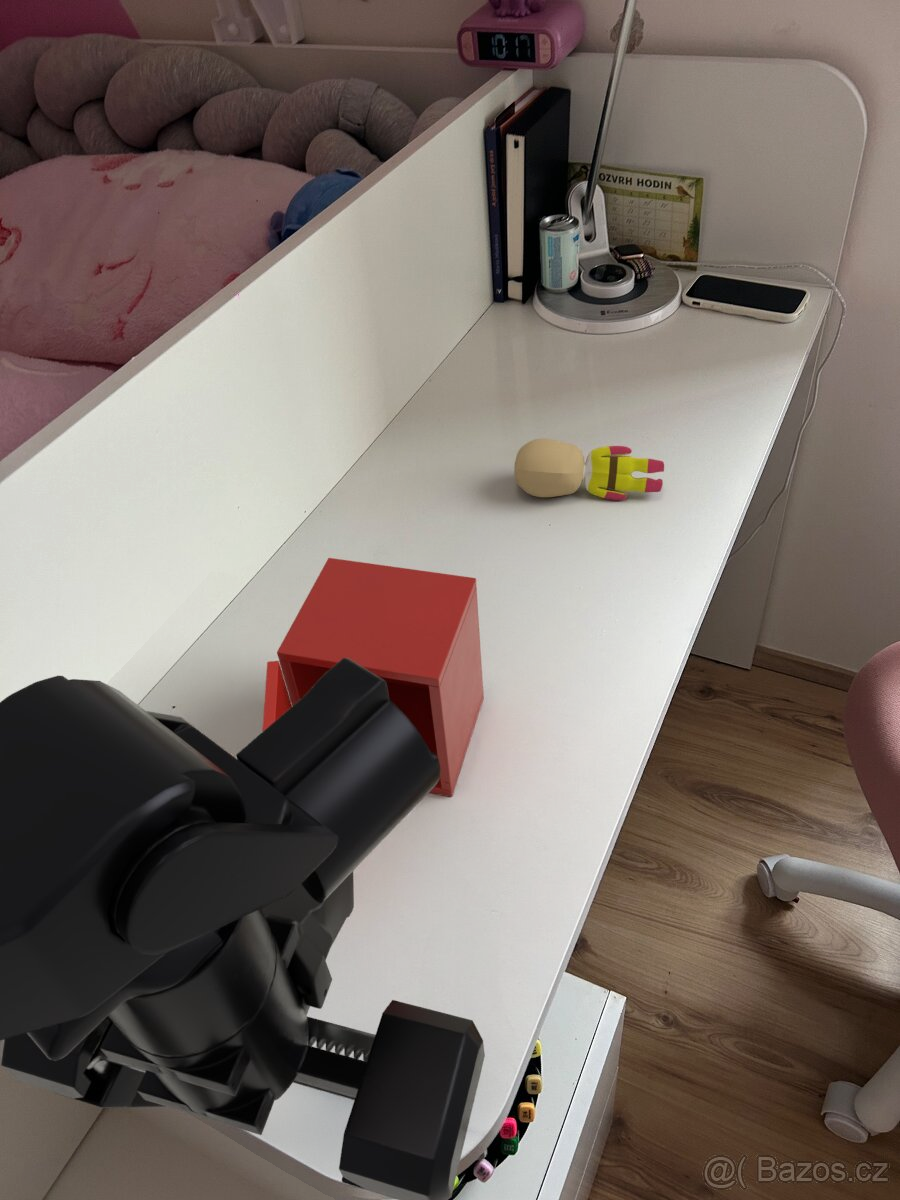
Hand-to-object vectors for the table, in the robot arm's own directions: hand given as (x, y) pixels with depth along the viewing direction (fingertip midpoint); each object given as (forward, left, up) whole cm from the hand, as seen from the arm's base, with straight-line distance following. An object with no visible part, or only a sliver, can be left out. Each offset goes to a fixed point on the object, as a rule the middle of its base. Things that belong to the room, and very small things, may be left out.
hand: (282, 1119), depth 43 cm
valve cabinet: (+12, +30, -13) cm, 35 cm away
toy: (+38, +54, -13) cm, 67 cm away
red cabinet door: (0, +23, -13) cm, 27 cm away
